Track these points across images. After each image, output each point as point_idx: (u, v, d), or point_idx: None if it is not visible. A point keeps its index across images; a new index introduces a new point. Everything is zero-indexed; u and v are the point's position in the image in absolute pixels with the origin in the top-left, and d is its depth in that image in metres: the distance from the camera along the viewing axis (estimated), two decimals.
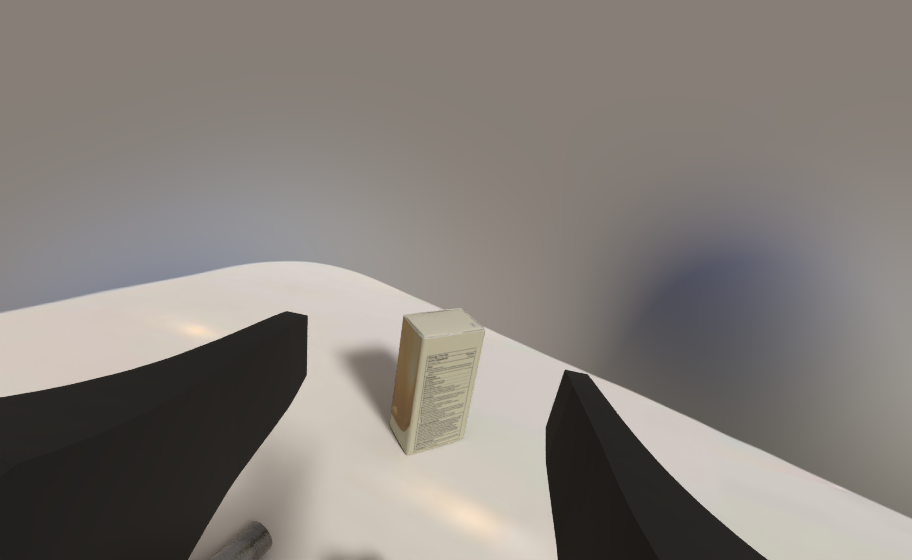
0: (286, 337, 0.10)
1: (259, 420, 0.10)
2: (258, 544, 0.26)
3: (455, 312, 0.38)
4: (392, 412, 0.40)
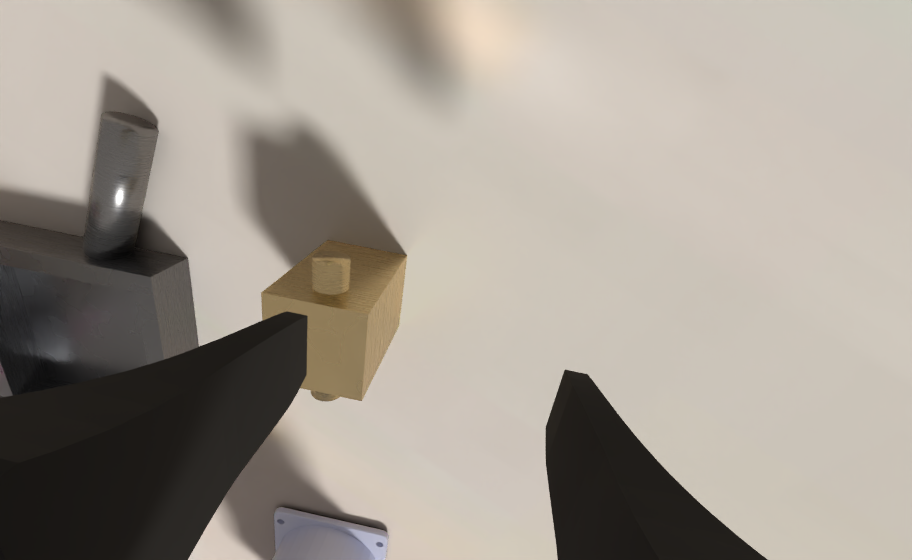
0: (285, 337, 0.10)
1: (260, 420, 0.10)
2: (132, 152, 0.18)
3: None
4: None
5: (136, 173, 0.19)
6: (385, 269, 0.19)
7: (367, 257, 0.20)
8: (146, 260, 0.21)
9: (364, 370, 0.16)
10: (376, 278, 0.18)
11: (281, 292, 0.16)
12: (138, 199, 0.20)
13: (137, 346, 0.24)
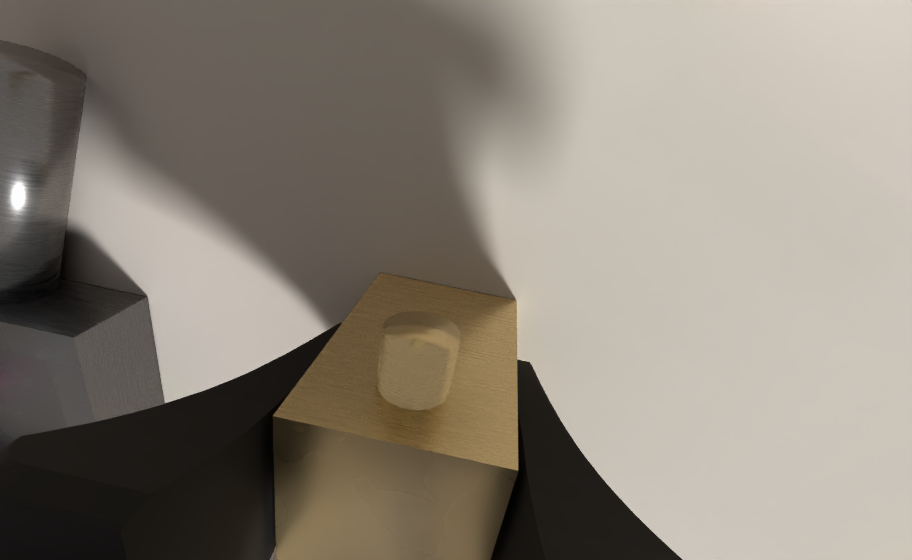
0: None
1: None
2: (30, 113, 0.10)
3: None
4: None
5: (44, 154, 0.11)
6: (496, 334, 0.10)
7: (455, 307, 0.11)
8: (75, 303, 0.13)
9: None
10: (490, 357, 0.09)
11: (317, 412, 0.07)
12: (54, 201, 0.11)
13: None
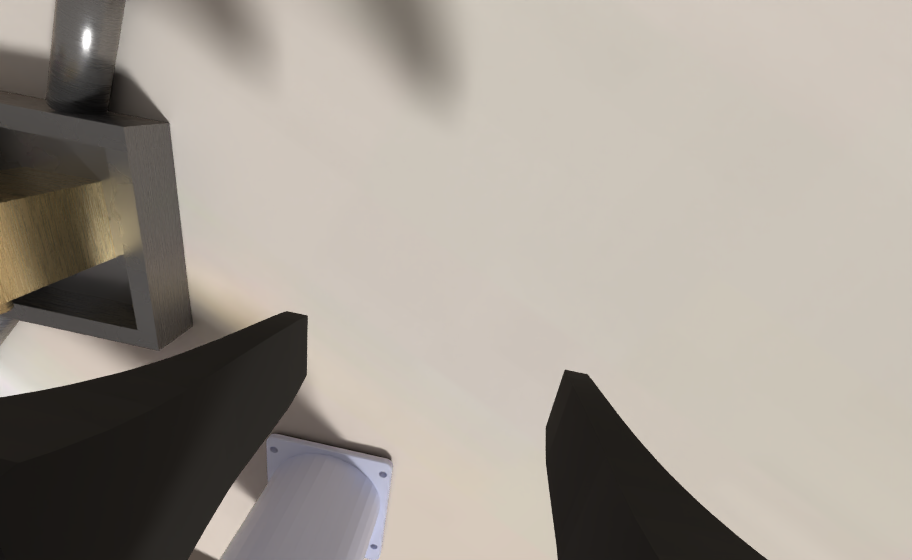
0: (286, 337, 0.10)
1: (260, 420, 0.10)
2: None
3: None
4: None
5: None
6: (49, 188, 0.19)
7: (46, 179, 0.20)
8: (120, 118, 0.19)
9: None
10: (23, 192, 0.18)
11: None
12: (110, 37, 0.17)
13: (113, 236, 0.22)
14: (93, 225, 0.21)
